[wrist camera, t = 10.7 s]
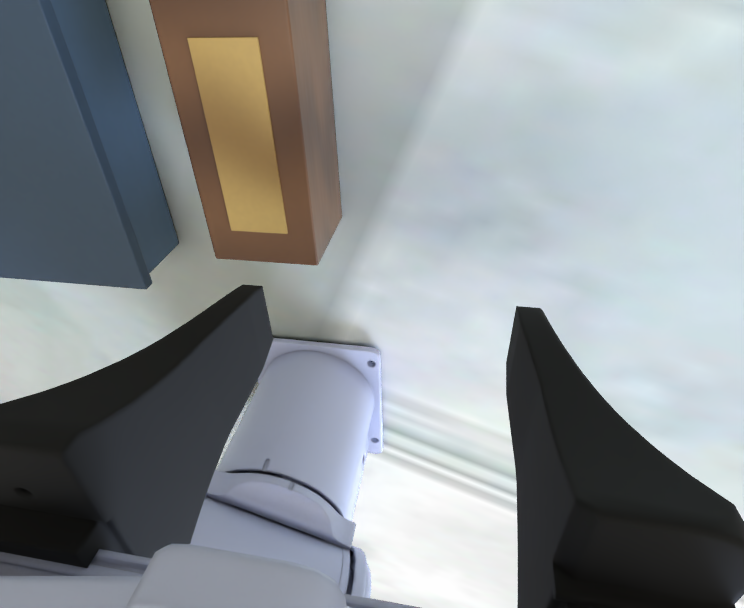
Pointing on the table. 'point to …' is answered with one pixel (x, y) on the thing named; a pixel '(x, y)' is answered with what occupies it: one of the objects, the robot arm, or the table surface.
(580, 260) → the table surface
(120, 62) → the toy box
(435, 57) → the table surface
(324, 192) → the plaque
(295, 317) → the table surface
